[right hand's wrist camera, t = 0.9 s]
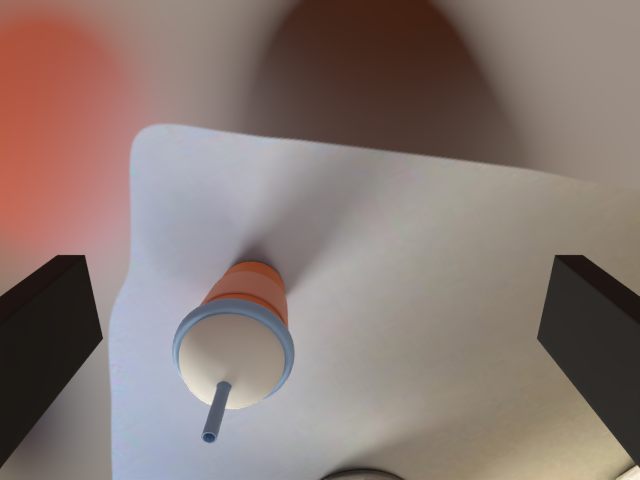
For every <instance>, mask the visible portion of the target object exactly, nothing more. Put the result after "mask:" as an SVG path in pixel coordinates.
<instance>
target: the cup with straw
mask: <svg viewBox="0 0 640 480" xmlns="http://www.w3.org/2000/svg"><path fill="white" fill-rule="evenodd" d="M173 359H174V363H175V366H176V369H177V371H178V373H179V375H180V376H181V378H182V379H183V380H184V382H185V383H186V385H187V387H188V388H189V389H190V391H191V392H192V393H193V394H194V395H195V396H196V397H198V398H199V399H200V400H202V401H203V402H205V403H207V404H209V405H211V408H210V411H209V415H208V418H207V421H206V424H205V427H204V430H203V434H202V440H203V441H204V442H206V443H213V442H215V441H216V439H217V436H218V432H219V429H220V425H221V421H222V418H223V414H224V410H225V409H239V408H244V407H248V406H251V405H253V404H255V403H257V402H259V401H260V400H263V399H265V398H267V397H269V396H270V395H272V394H274V393H275V392H276V391H277V390H278V389H279V388H281V386H282V385H283V384H284V383H285V381H286V380H287V378H288V377H289V375H290V372H291V370H292V367H293V363H294V344H293V340H292V337H291V335H290V332H289V330H288V310H287V301H286V298H285V289H284V284H283V281H282V279H281V277H280V276H279V274H278V273H277V272H276V271H275V270H274V269H273V268H271V267H270V266H268V265H266V264H263V263H260V262H254V261H247V262H242V263H239V264H237V265H235V266H233V267H231V268H230V269H229V270H228V271H227V272H226V273H225V274H224V276H223V277H222V279H220V280H219V281H218V282H217V283H216V284H215V285H214V287H213V288H212V289H211V291H210V292H209V294H208V295H207V296H206V298H205V299H204V301H203V302H202V303H201V305H200V306H199V307H197V308H196V309H194V310H193V311H192V312H191V313H189V314H188V315H187V316H186V317H185V318H184V320H183V321H182V322H181V324H180V325H179V327H178V329H177V331H176V334H175V337H174V341H173Z"/></svg>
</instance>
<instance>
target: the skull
mask: <svg viewBox="0 0 640 480" xmlns="http://www.w3.org/2000/svg"><path fill="white" fill-rule="evenodd" d="M616 480H640V468H639V467H638V466H637V465H636V466H635V467H633V468H632V469H630V470H629V471H627V472H626V473H624V474H622V475H621V476H619V477H618V478H617V479H616Z"/></svg>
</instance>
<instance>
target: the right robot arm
mask: <svg viewBox="0 0 640 480" xmlns="http://www.w3.org/2000/svg"><path fill="white" fill-rule="evenodd" d="M102 339H103V337H102V332H101V327H100V323H99V318H98V313H97V309H96V304H95V300H94V295H93V291H92V286H91V281H90V277H89V272H88V267H87V263H86V258H85V255H57V256H55V257H54V258H53V259H51V260H50V261H49V262H47V263H46V264H44V265H43V266H42V267H40V268H39V269H38V270H36V271H35V272H33V273H32V274H31V275H29V276H28V277H27V278H25V279H24V280H22V281H21V282H20V283H18V284H17V285H15V286H14V287H13V288H11V289H10V290H9V291H7V292H6V293H4V294H3V295H2V296H0V468H1V467H2V466H3V464H4V463H5V462H6V460H7V459H8V458H9V457H10V455H11V454H12V453H13V452H14V450H15V449H16V448H17V447H18V445H19V444H20V443H21V441H22V440H23V439H24V438H25V436H26V435H27V434H28V433H29V431H30V430H31V429H32V428H33V426H34V425H35V424H36V423H37V421H38V420H39V419H40V418H41V416H42V415H43V414H44V412H45V411H46V410H47V409H48V407H49V406H50V405H51V404H52V402H53V401H54V400H55V399H56V397H57V396H58V395H59V393H60V392H61V391H62V390H63V388H64V387H65V386H66V385H67V383H68V382H69V381H70V380H71V378H72V377H73V376H74V374H75V373H76V372H77V371H78V369H79V368H80V367H81V366H82V364H83V363H84V362H85V361H86V359H87V358H88V357H89V356H90V354H91V353H92V352H93V351H94V349H95V348H96V347H97V345H98V344H99V343H100V342H101V340H102ZM537 339H538V340H539V342H540V343H541V344H542V345H543V347H544V348H545V349H546V351H547V352H548V353H549V354H550V356H551V357H552V358H553V359H554V361H555V362H556V363H557V364H558V366H559V367H560V368H561V369H562V371H563V372H564V373H565V375H566V376H567V377H568V378H569V380H570V381H571V382H572V383H573V385H574V386H575V387H576V388H577V390H578V391H579V392H580V393H581V395H582V396H583V397H584V399H585V400H586V401H587V402H588V404H589V405H590V406H591V407H592V409H593V410H594V411H595V412H596V414H597V415H598V416H599V418H600V419H601V420H602V421H603V423H604V424H605V425H606V426H607V428H608V429H609V430H610V431H611V433H612V434H613V435H614V436H615V438H616V439H617V440H618V442H619V443H620V444H621V445H622V447H623V448H624V449H625V450H626V452H627V453H628V454H629V455H630V457H631V458H632V459H633V460H634V462H635V463H636V464H637V466H638V467H639V468H640V296H638V295H637V294H636V293H634V292H633V291H631V290H630V289H629V288H627V287H626V286H624V285H623V284H622V283H620V282H619V281H618V280H616V279H615V278H613V277H612V276H611V275H609V274H608V273H607V272H605V271H604V270H602V269H601V268H600V267H598V266H597V265H596V264H594V263H593V262H591V261H590V260H589V259H587V258H586V257H585V256H583V255H555V258H554V263H553V267H552V272H551V277H550V281H549V286H548V290H547V295H546V300H545V304H544V309H543V313H542V318H541V323H540V327H539V332H538V336H537ZM323 480H402V479H400V478H398V477H396V476H393V475H391V474H387V473H384V472H380V471H373V470H353V471H346V472H341V473H338V474H335V475H332V476H329V477H327V478H325V479H323Z"/></svg>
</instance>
